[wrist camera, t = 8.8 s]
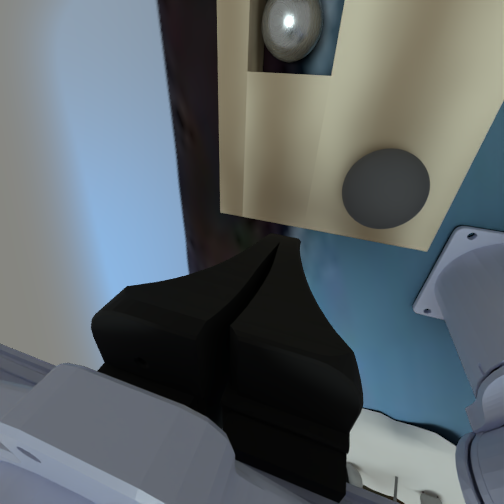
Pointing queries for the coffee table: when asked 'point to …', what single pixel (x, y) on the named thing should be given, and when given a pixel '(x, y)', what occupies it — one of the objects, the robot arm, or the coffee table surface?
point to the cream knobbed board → (357, 110)
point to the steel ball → (291, 27)
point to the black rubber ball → (386, 188)
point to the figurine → (402, 461)
